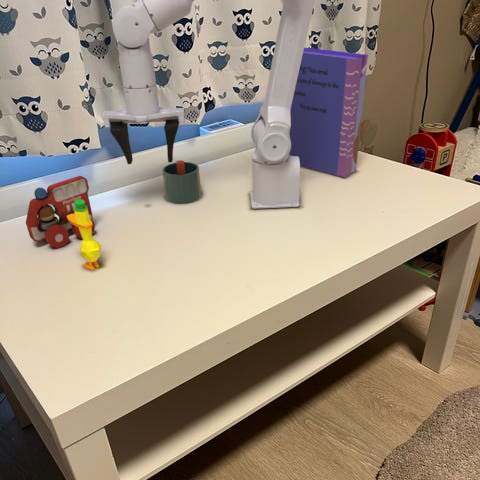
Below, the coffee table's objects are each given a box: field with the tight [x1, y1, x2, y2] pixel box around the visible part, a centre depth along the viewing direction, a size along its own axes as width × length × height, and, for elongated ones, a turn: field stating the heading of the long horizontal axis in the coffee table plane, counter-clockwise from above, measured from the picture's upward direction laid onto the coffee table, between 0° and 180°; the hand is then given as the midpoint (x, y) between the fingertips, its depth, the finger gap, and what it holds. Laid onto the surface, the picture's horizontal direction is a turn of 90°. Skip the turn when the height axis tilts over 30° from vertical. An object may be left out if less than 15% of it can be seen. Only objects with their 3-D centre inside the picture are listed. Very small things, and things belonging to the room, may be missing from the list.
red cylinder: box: [175, 160, 185, 175], centre depth 108 cm, size 2×2×7 cm
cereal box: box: [289, 46, 369, 179], centre depth 114 cm, size 17×5×24 cm, turn 49°
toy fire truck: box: [25, 175, 96, 249], centre depth 94 cm, size 7×12×10 cm, turn 130°
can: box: [162, 161, 202, 205], centre depth 108 cm, size 7×7×6 cm
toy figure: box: [67, 199, 103, 271], centre depth 85 cm, size 7×4×12 cm, turn 49°
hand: (150, 161), depth 99 cm, fingers open, 7 cm apart
